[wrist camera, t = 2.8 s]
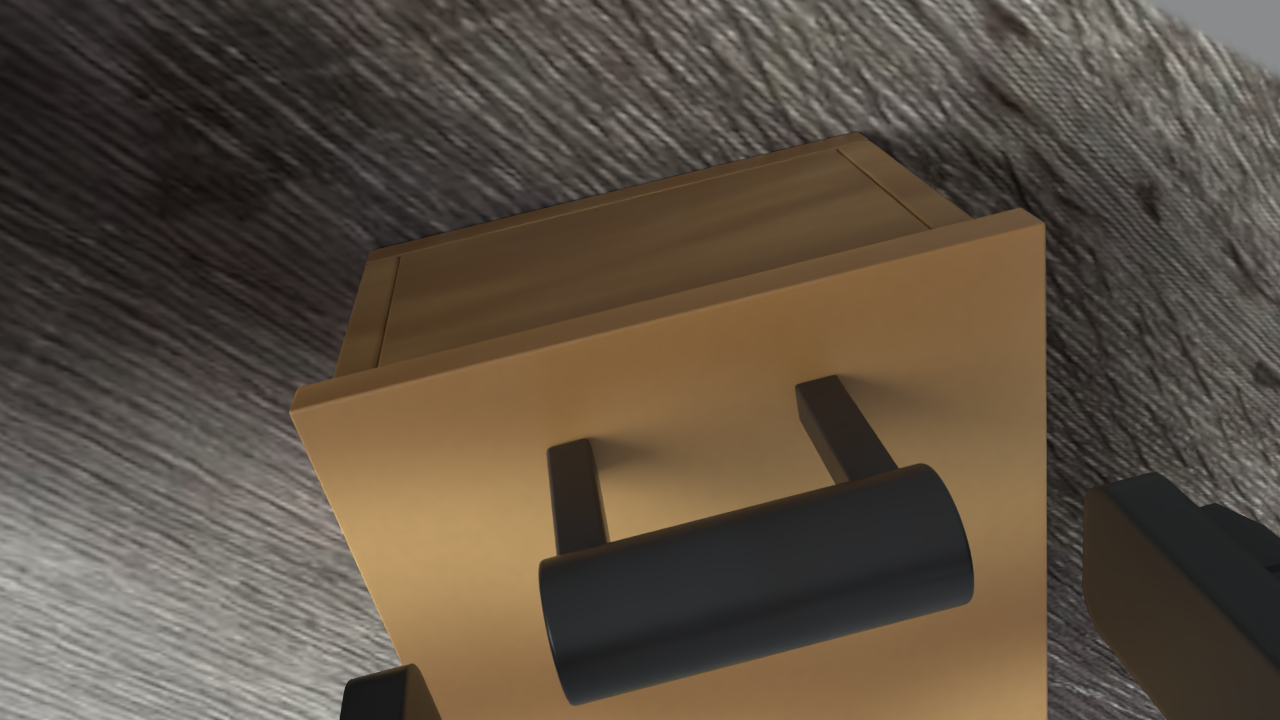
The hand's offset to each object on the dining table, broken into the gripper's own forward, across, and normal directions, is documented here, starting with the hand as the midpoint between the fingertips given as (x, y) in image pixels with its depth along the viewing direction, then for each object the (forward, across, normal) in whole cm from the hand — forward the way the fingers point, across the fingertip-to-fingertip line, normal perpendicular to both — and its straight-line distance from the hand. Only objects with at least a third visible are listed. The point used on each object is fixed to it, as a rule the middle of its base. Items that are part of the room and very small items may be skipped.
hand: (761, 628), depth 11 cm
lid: (+5, 0, +5) cm, 7 cm away
